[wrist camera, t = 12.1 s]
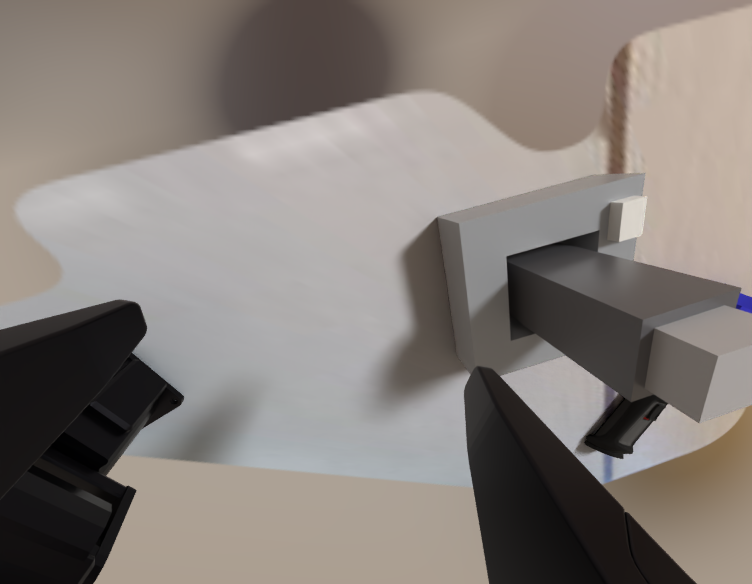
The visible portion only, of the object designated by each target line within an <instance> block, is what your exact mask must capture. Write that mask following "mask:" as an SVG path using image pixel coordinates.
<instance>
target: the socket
mask: <svg viewBox="0 0 752 584" xmlns="http://www.w3.org/2000/svg"><path fill="white" fill-rule="evenodd" d="M644 180H645V173H630V174H602V175H592V176H588V177H584V178H581V179H577V180H573V181H569V182H566V183H562V184H558V185H555V186H551V187H547V188H543V189H540V190H536V191H532V192H528V193H525V194H521V195H517V196H514V197H510V198H506V199H502V200H499V201H495V202H491V203H487V204H484V205H480V206H476V207H473V208H469V209H465V210H461V211H458V212H454V213H450V214H446V215H443V216H439V217H437V219H438V226H439V233H440V240H441V247H442V254H443V261H444V268H445V275H446V282H447V289H448V296H449V303H450V310H451V317H452V324H453V331H454V338H455V345H456V352H457V357H458V358H459V359H460V361H461V362H462V363H463V365H464V366H465V367H466V369H467V370H468V371H469V373H470V374H471V373H472V371H473V369H474V368H475V367H476V366H483V367H489V368H492V369H493V370H494V371H495V372H496V373H497V374H498V375H499V376H501V375H504V374H508V373H511V372H514V371H517V370H520V369H524V368H527V367H530V366H533V365H537V364H540V363H543V362H546V361H549V360H553V359H556V358H559V357H562V356H566V355H565V354H563V353H562V352H560V351H559V350H558V349H556V348H555V347H553V346H552V345H551V344H549V343H548V342H546V341H545V340H544V339H542V338H541V337H539V336H538V335H537V334H535V333H534V332H532V331H531V330H530V329H528V328H527V327H525V326H524V325H523V324H521V323H520V322H519V321H517V320H516V319H514V318H513V317H512V316H510V315H509V298H508V279H507V259H506V256H509V255H513V254H516V253H520V252H524V251H527V250H531V249H534V248H538V247H541V246H545V245H548V244H552V243H555V242H559V243H563V244H567V245H571V246H575V247H579V248H583V249H587V250H591V251H595V252H599V253H603V254H607V255H611V256H615V257H619V258H623V259H627V260H631V261H634V254H635V246H636V239H637V237H638V236H642V232H643V225H644V218H645V211H646V203H647V196H642V194H643V187H644Z"/></svg>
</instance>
